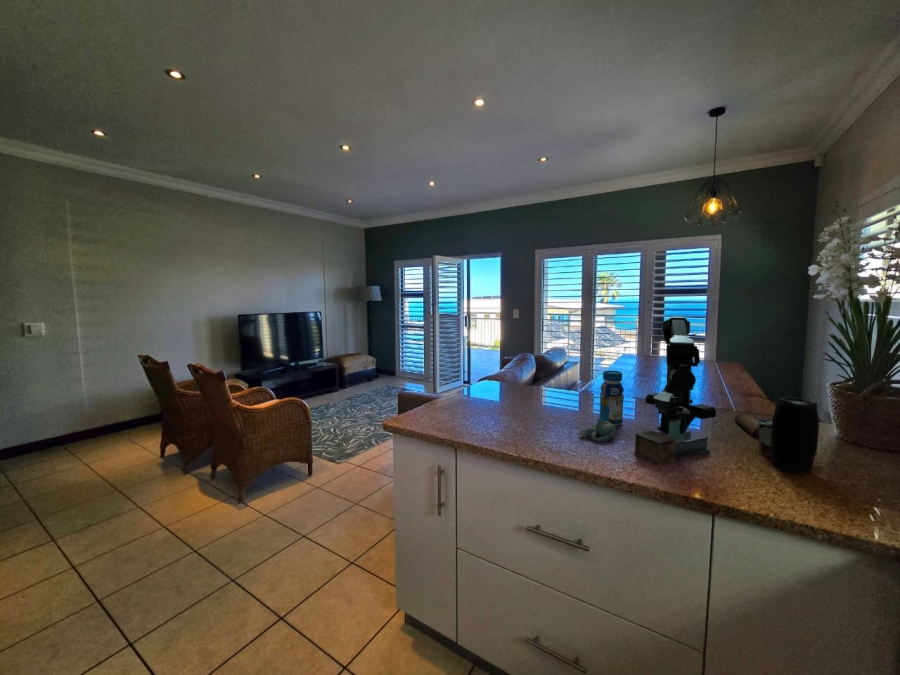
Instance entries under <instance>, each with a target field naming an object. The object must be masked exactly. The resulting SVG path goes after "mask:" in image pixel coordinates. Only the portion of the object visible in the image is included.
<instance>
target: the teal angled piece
mask: <svg viewBox="0 0 900 675" xmlns="http://www.w3.org/2000/svg"><path fill="white" fill-rule="evenodd" d="M680 425H681V421H678V420H673V421H669V432H668V435H669V437H671V438H674V439H676V440H675V443H677V442H682V441H684V439H685V433H684V434H680Z"/></svg>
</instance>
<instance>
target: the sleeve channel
mask: <svg viewBox="0 0 900 675" xmlns="http://www.w3.org/2000/svg"><path fill="white" fill-rule="evenodd" d="M691 434H692V431H690V430H686V431H685V439H684V441H682V442H677V443H675V461H674V462H677V461H680V460H681V459H682V460H684V459H688V458H689V459H690V458H693V457H696V456H701V455H703V454H709V453H711V448H708V436H705V435H704V436H700V437H695V438H692V439H691V437H692V436H691ZM666 436H668V437H669V434H666Z"/></svg>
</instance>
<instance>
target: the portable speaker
mask: <svg viewBox="0 0 900 675" xmlns="http://www.w3.org/2000/svg"><path fill="white" fill-rule="evenodd" d="M817 404H818V403H817V402H814V401H809V400H806V399H803V397H802V398H801V397H796V396H784V397H782V398H777V401H776V404H775V408H774V412H773V415H772V431H771V454H772V455H771V462H772V464H773V465H777V466H778V467H779V468H780V469H781V470H782V471H783V472H787V473H790V474H796V475H801V474H802V473H805V472H807V473H811V471H812V468H813V467H814V466H813V465H814V463H815V462H814V461H815V458H816V455H817V451H818V450H817V449H818V441H819V431H820V421H819V414H818V405H817Z"/></svg>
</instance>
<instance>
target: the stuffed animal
mask: <svg viewBox="0 0 900 675" xmlns="http://www.w3.org/2000/svg"><path fill="white" fill-rule="evenodd" d="M616 429H617V428H616V426H614V425H613V424H612V423H610V422H609V421H602V420H601V419H600V418H597V422H596V425H595V426H593V427H592V426H591V427H587V428H586V429H585V430H583V429H582V430H579V435H581V437H587V436H588V437H590V440H591V441H595V442H598V441H600V442H601V443H603V441H605V442H607V441H608V440H610V439H612V438H614V437H615V435H616V431H617V430H616ZM596 436H598V437H596Z"/></svg>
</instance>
